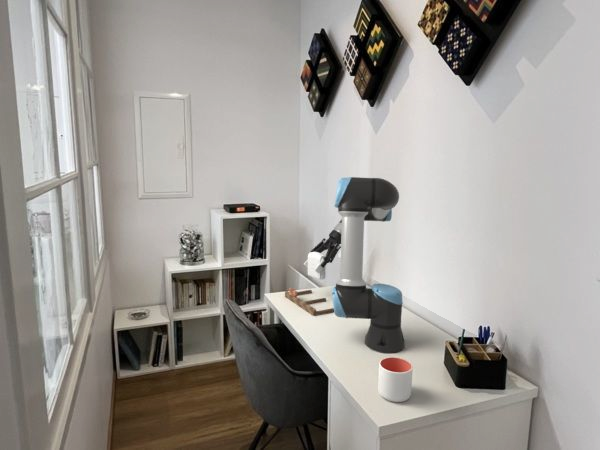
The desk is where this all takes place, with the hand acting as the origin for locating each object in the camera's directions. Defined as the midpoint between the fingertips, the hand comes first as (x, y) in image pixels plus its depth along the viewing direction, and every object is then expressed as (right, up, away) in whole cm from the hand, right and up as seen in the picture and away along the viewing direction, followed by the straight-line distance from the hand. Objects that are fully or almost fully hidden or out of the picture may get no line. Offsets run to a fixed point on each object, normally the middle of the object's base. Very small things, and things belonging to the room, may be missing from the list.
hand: (310, 268), depth 207 cm
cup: (+24, -32, -74) cm, 84 cm away
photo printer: (+3, -4, +2) cm, 6 cm away
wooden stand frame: (+1, -18, +5) cm, 18 cm away
